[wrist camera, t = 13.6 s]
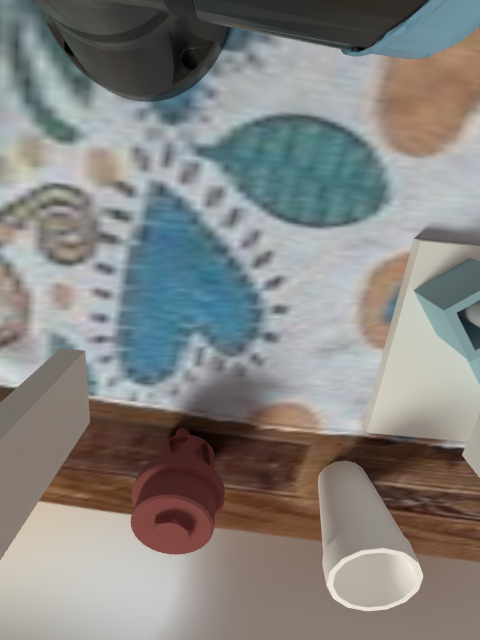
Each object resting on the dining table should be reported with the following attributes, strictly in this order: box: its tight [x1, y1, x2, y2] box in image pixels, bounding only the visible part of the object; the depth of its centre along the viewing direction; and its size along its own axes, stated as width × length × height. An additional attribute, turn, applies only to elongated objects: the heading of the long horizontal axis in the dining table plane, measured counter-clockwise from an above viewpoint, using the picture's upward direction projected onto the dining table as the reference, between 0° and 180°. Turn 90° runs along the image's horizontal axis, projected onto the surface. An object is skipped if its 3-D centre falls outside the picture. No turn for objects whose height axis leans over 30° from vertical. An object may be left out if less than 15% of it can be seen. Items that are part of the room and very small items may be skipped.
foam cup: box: [318, 461, 423, 611], centre depth 41 cm, size 10×9×13 cm
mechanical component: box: [131, 428, 225, 554], centre depth 40 cm, size 12×10×10 cm
